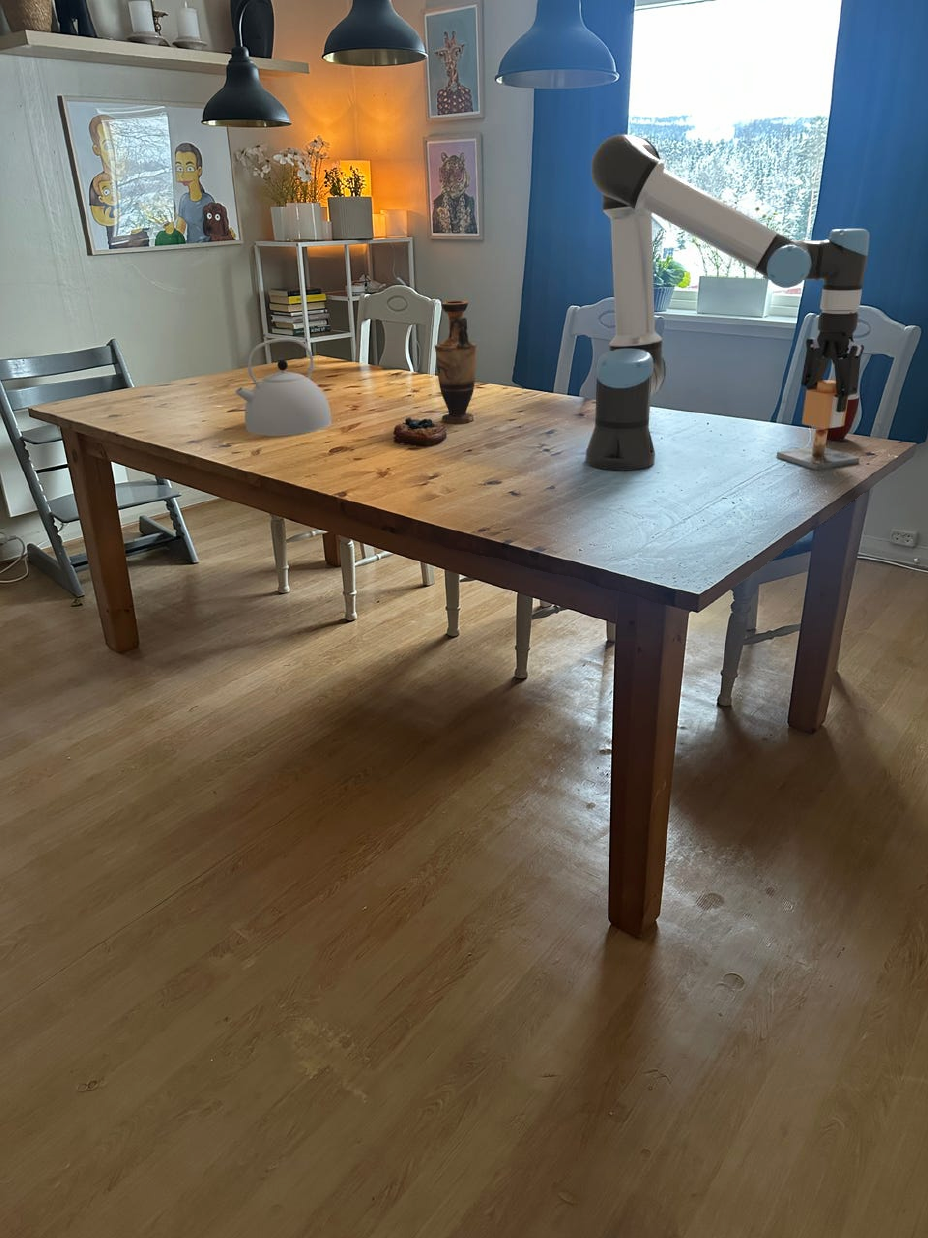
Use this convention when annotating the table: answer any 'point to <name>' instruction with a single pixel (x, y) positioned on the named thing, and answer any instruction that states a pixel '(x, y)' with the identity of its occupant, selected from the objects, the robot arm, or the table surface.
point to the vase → (456, 365)
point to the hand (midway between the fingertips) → (823, 423)
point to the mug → (842, 431)
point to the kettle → (284, 401)
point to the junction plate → (824, 460)
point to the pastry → (419, 432)
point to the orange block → (820, 405)
